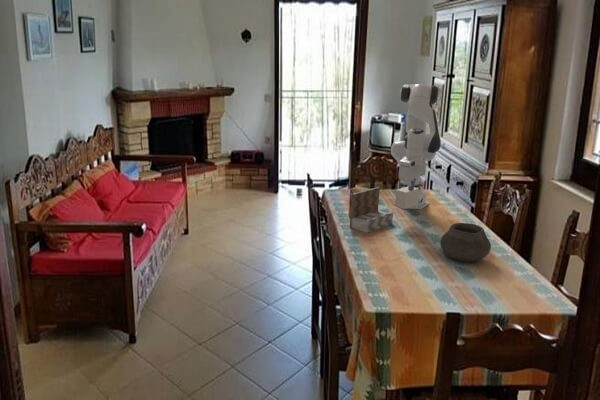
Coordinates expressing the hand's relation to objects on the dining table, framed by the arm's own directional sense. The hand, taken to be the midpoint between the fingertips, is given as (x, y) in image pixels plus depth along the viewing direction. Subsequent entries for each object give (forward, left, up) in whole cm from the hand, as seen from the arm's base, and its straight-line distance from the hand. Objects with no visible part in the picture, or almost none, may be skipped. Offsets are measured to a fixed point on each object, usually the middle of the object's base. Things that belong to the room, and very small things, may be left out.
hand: (411, 186), depth 271 cm
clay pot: (+19, +43, -22) cm, 52 cm away
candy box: (+10, -27, -22) cm, 36 cm away
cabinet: (0, -2, -11) cm, 11 cm away
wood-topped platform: (+16, -12, -21) cm, 29 cm away
